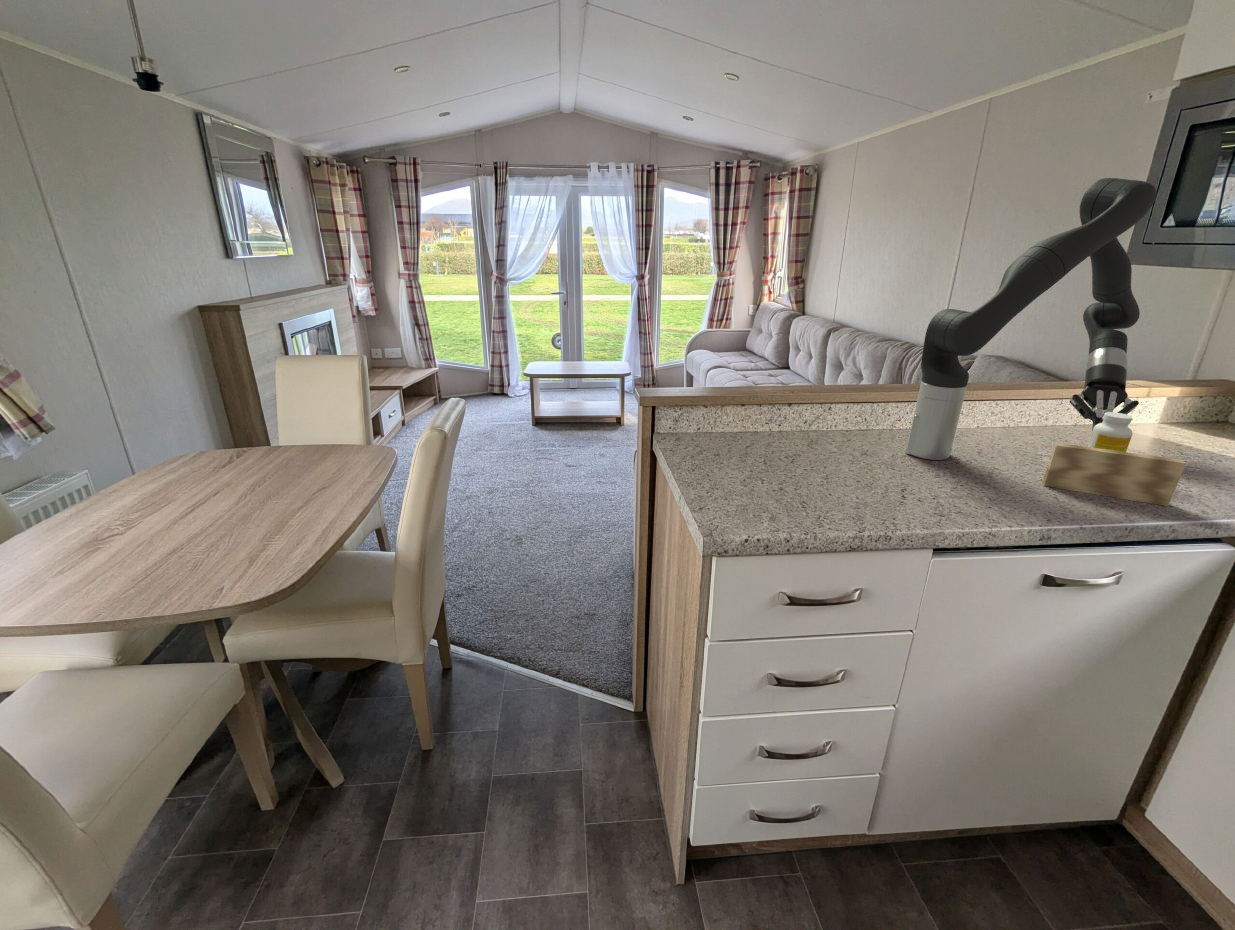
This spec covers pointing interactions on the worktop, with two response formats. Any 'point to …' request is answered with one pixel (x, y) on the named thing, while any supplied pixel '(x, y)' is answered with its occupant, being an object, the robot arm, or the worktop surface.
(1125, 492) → the wall board
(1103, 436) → the supplement bottle
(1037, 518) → the worktop surface
